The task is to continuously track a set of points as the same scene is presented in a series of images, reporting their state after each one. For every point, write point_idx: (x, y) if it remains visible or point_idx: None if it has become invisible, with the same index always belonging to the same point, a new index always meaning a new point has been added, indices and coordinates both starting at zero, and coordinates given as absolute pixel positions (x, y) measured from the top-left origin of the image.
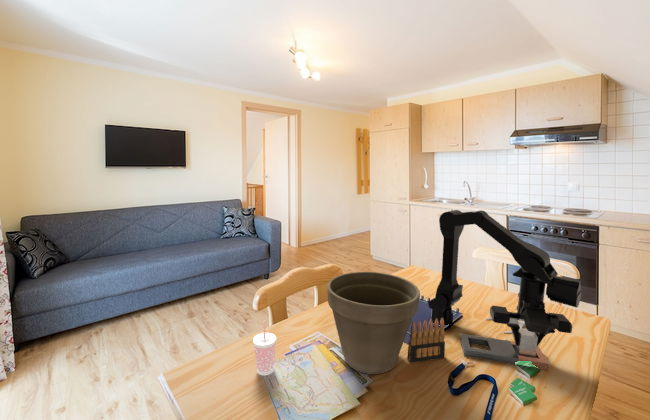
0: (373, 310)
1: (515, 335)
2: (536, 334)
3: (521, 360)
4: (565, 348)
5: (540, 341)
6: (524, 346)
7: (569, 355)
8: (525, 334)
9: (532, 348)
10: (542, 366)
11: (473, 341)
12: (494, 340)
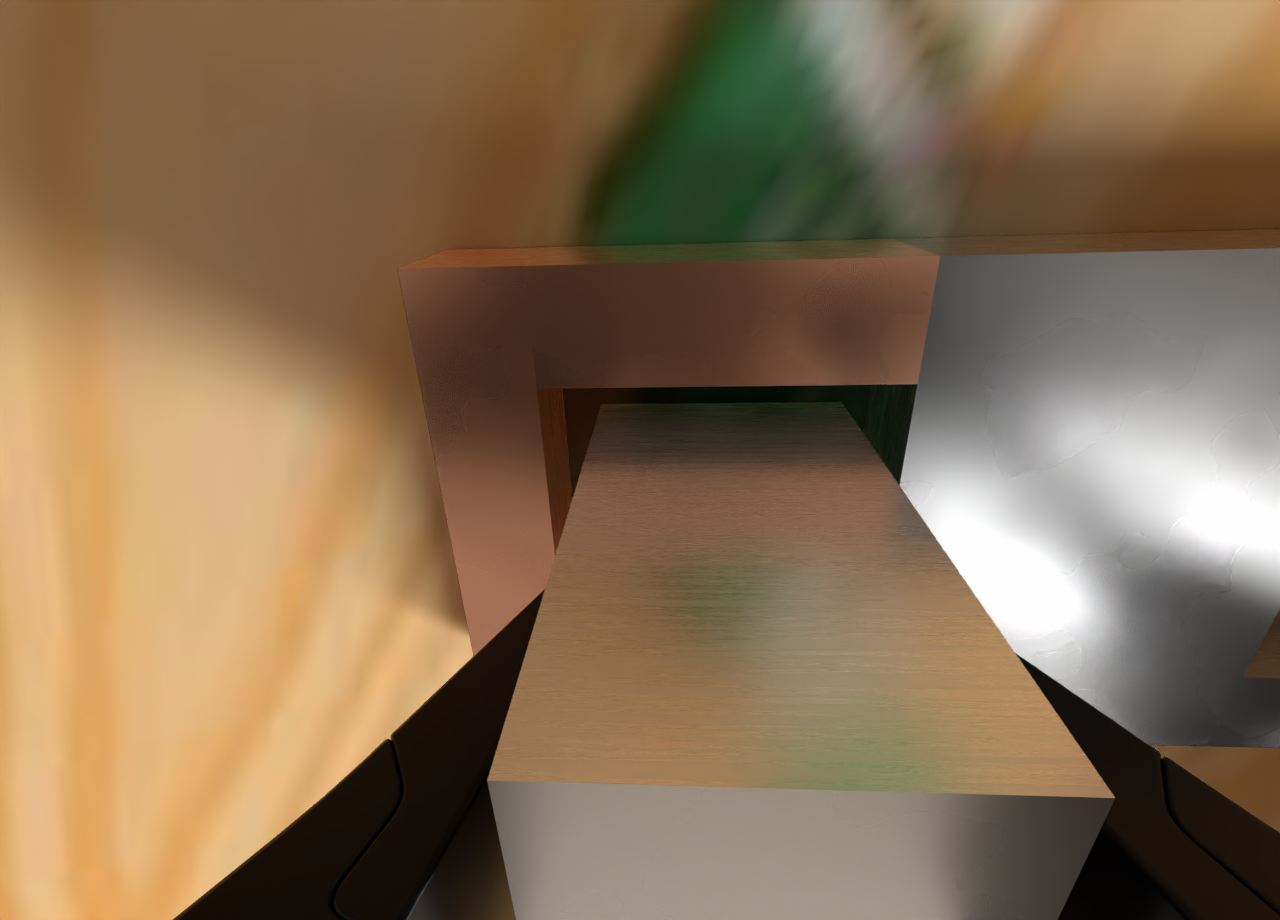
0: None
1: (1151, 769)
2: (491, 911)
3: (879, 251)
4: (215, 777)
5: (437, 695)
6: (821, 520)
7: (179, 675)
8: (904, 847)
9: (650, 507)
10: (524, 258)
11: None
12: (1111, 700)
